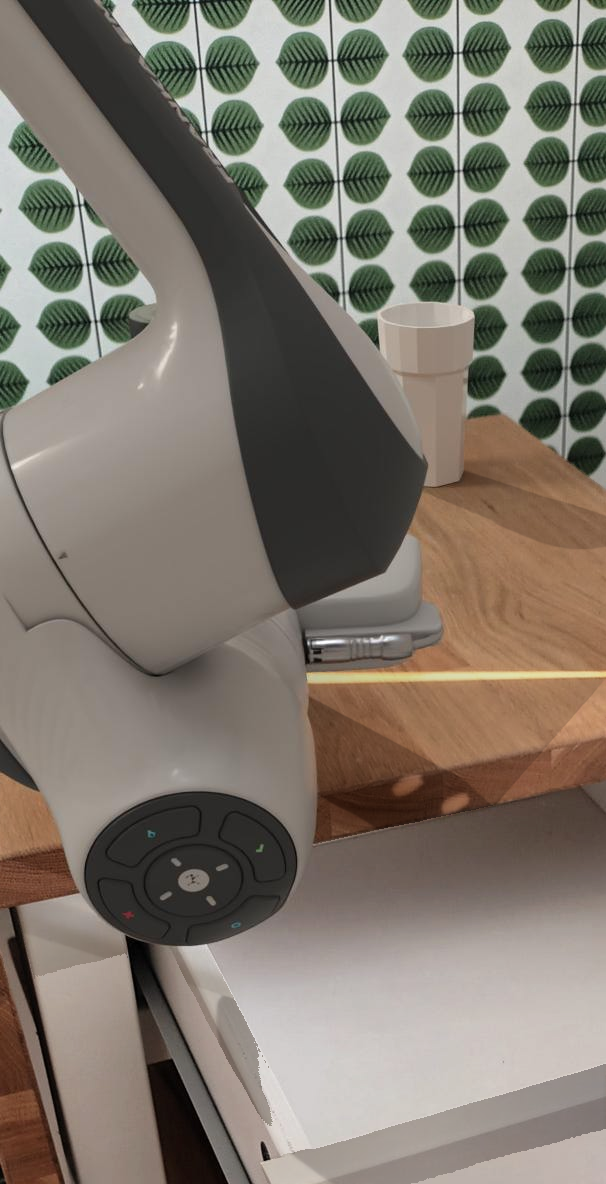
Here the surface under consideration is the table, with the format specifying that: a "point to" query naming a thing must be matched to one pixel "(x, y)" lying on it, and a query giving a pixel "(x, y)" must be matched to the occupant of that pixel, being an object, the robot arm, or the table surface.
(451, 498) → the table surface
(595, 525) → the table surface
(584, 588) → the table surface
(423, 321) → the cup
